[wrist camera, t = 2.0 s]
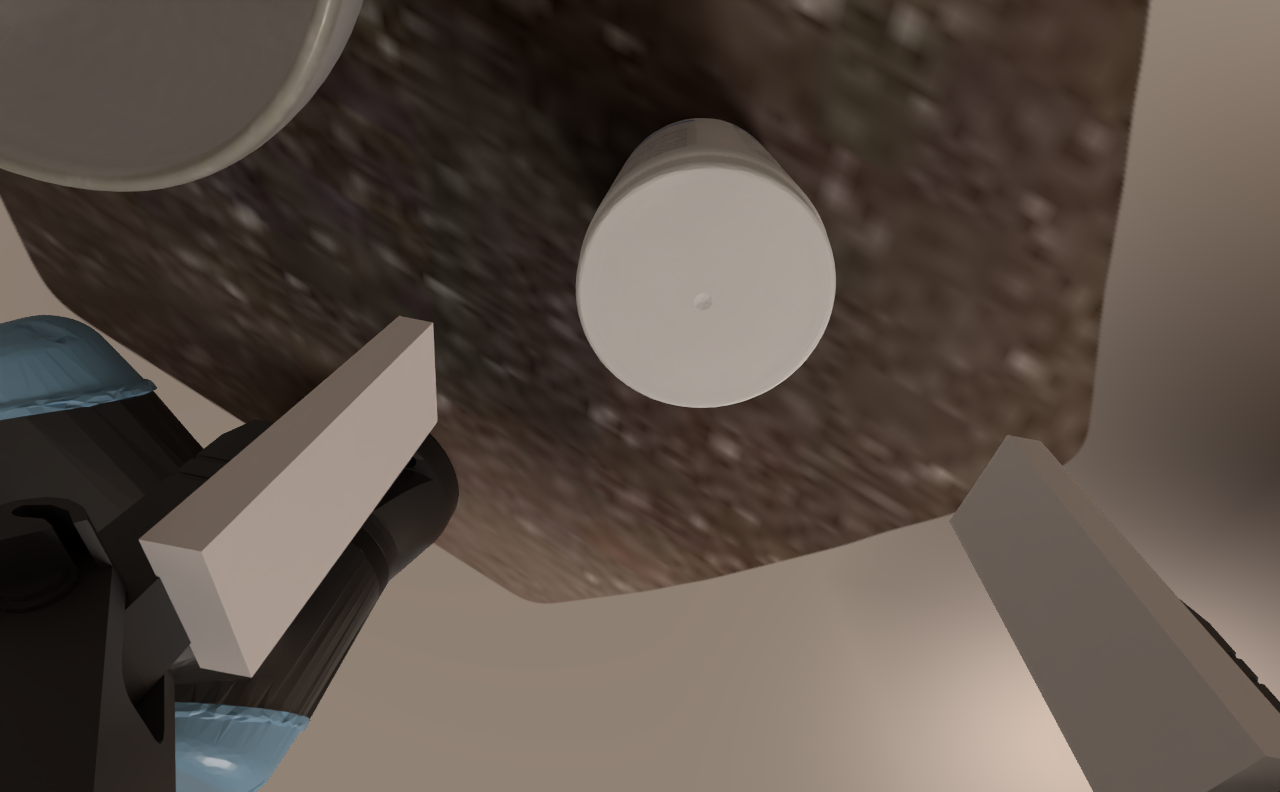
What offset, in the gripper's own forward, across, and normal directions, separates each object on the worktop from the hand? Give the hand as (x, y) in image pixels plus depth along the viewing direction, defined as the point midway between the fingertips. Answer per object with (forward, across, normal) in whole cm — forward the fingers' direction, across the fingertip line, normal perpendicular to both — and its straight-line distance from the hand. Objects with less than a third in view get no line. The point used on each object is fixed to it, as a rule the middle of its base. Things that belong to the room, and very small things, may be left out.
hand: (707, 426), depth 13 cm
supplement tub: (+23, 0, 0) cm, 23 cm away
